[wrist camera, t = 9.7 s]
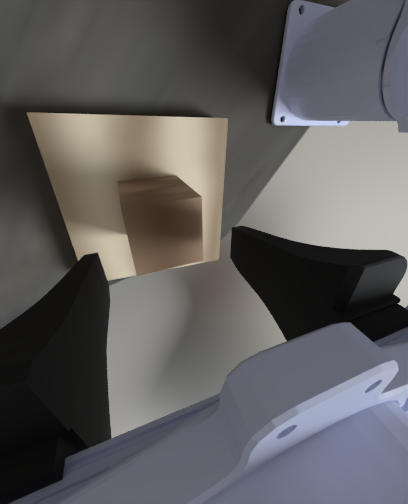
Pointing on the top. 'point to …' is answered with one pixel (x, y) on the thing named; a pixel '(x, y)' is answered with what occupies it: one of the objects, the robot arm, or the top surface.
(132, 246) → the walnut block
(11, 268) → the top surface
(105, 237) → the birch block
